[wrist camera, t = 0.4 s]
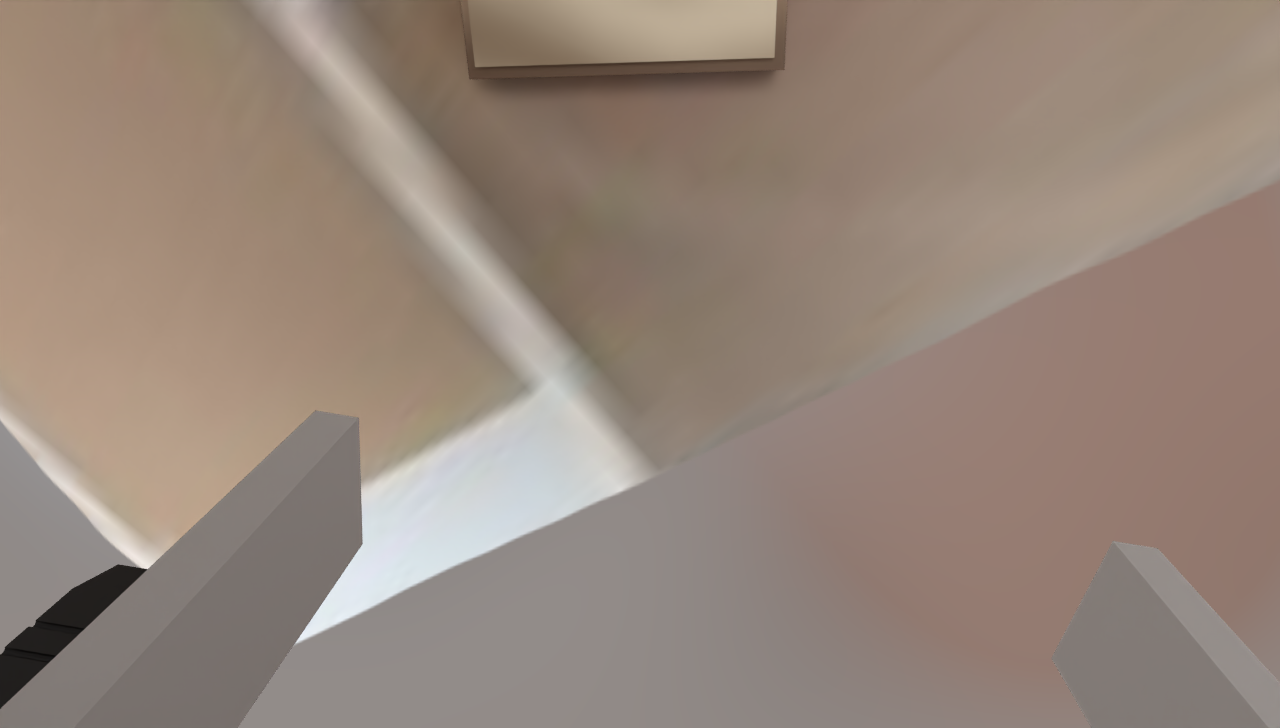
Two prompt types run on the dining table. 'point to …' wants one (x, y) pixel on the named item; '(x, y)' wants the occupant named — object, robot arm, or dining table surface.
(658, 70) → the pedestal
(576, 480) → the dining table surface
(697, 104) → the dining table surface
